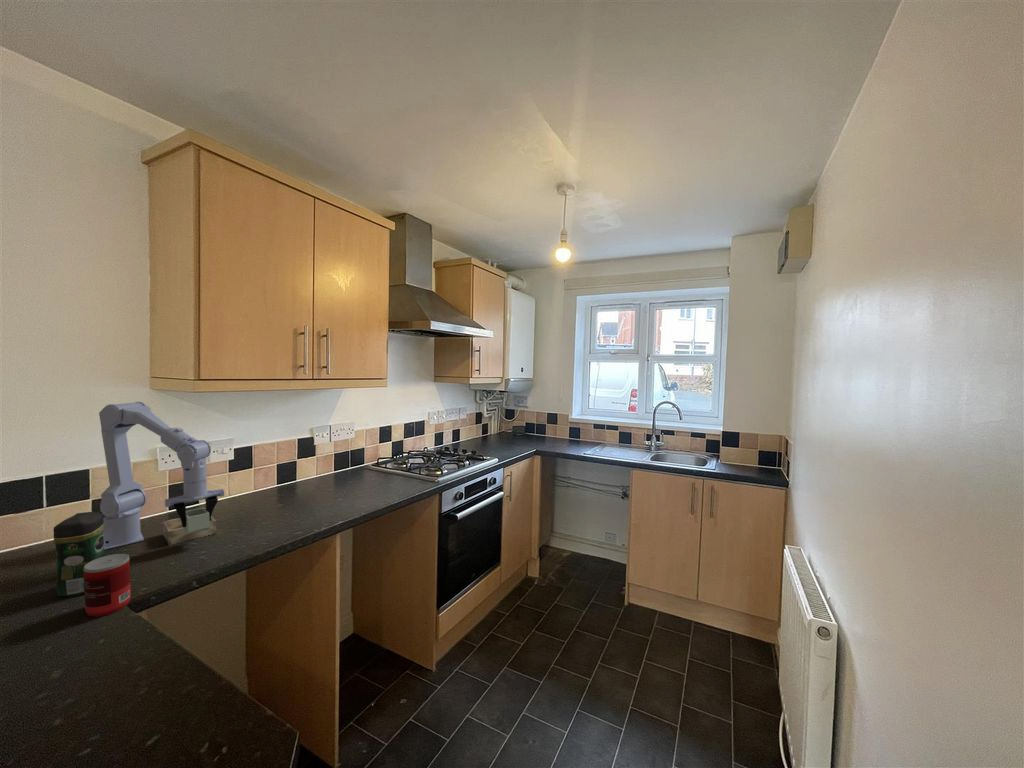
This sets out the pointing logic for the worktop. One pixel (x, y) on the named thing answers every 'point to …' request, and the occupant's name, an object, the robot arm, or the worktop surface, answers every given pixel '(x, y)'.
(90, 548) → the coffee jar
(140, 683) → the worktop surface
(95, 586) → the canned food
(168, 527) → the box
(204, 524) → the box
